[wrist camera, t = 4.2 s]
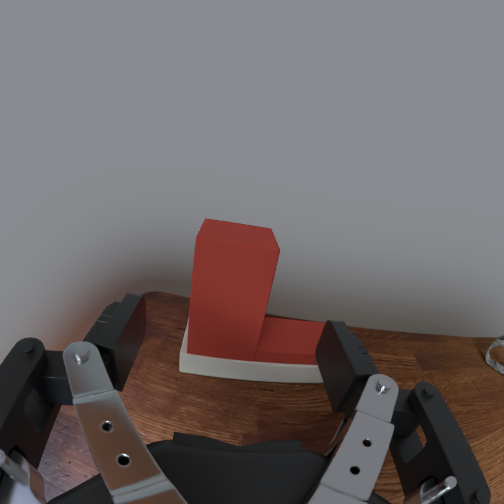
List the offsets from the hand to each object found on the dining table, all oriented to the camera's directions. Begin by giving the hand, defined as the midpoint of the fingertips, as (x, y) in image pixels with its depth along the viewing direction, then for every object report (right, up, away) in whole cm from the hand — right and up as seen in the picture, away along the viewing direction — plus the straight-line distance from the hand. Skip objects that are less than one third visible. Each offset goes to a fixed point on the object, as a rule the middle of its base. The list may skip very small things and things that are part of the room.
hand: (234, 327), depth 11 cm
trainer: (+1, -6, +11) cm, 13 cm away
